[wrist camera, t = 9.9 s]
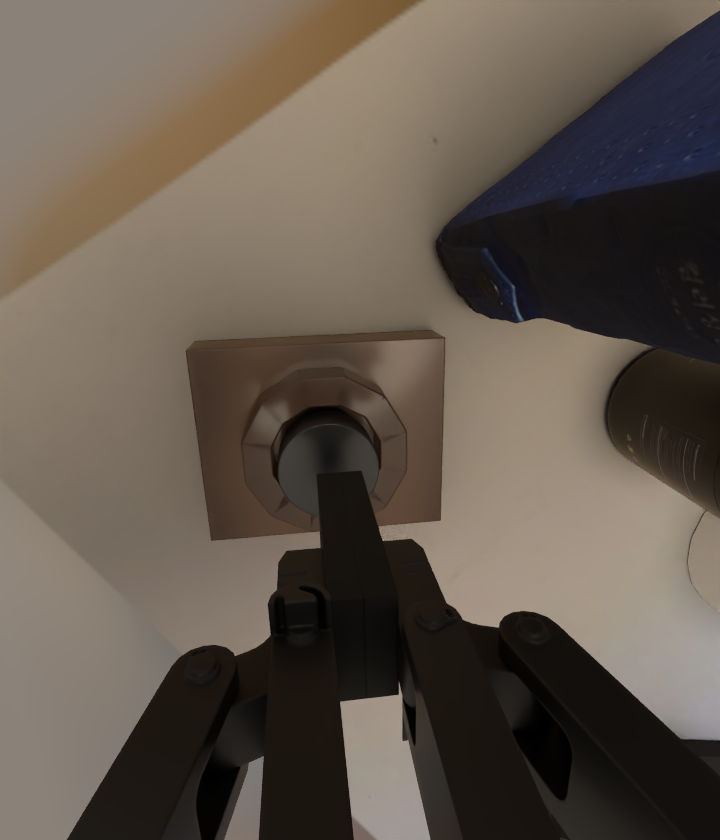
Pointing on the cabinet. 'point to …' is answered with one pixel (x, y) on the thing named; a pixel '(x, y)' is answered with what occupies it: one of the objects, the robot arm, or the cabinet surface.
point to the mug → (706, 559)
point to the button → (323, 455)
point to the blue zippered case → (611, 214)
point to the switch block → (306, 393)
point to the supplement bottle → (671, 423)
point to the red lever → (559, 829)
